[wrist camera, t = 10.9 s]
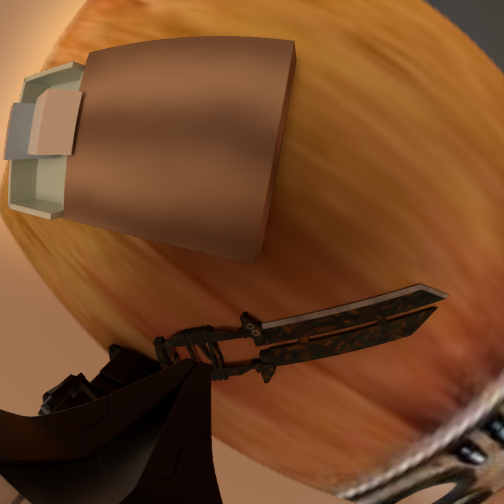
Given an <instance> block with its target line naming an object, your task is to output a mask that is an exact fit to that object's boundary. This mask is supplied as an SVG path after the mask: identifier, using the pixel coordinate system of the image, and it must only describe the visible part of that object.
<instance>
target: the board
mask: <svg viewBox="0 0 504 504" xmlns="http://www.w3.org/2000/svg"><path fill="white" fill-rule="evenodd" d="M295 65H296V51H295V43H294V41H290V40H281V39H271V38H259V37H238V36H205V37H184V38H172V39H162V40H153V41H146V42H139V43H133V44H127V45H122V46H116V47H112V48H107V49H102V50H98V51H94V52H90V53H89V55H88V59H87V62H86V65H85V69H84V73H83V76H82V80H81V84H80V88H79V92H82V96H81V101H80V105H79V110H78V115H77V120H76V126H75V132H74V138H73V145H72V152H71V155H67V163H66V173H65V186H64V206H63V219H66V220H70V221H74V222H78V223H82V224H86V225H90V226H94V227H98V228H102V229H106V230H110V231H114V232H118V233H122V234H126V235H130V236H134V237H138V238H143V239H147V240H151V241H155V242H159V243H163V244H167V245H172V246H176V247H180V248H184V249H188V250H193V251H197V252H201V253H205V254H210V255H214V256H218V257H223V258H227V259H231V260H235V261H240V262H244V263H248V264H253V265H254V263H255V261H256V260H257V258H258V256H259V255H260V253H261V251H262V246H263V240H264V235H265V230H266V225H267V219H268V214H269V209H270V203H271V198H272V193H273V187H274V182H275V177H276V171H277V166H278V160H279V155H280V149H281V144H282V138H283V133H284V127H285V122H286V116H287V111H288V105H289V99H290V94H291V88H292V82H293V77H294V71H295Z"/></svg>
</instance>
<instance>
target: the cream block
mask: <svg viewBox="0 0 504 504" xmlns="http://www.w3.org/2000/svg"><path fill="white" fill-rule="evenodd" d="M81 96H82V92H79V91H70V90H60V89H49V88H48V89H47V90H46V91H45V92H44V93H43V94H41V95H40V96H39V97H38V98H37V101H36V106H35V111H34V116H33V121H32V127H31V133H30V140H29V148H28V154H32V155H71V152H72V145H73V138H74V132H75V126H76V120H77V115H78V110H79V105H80V101H81Z"/></svg>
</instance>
